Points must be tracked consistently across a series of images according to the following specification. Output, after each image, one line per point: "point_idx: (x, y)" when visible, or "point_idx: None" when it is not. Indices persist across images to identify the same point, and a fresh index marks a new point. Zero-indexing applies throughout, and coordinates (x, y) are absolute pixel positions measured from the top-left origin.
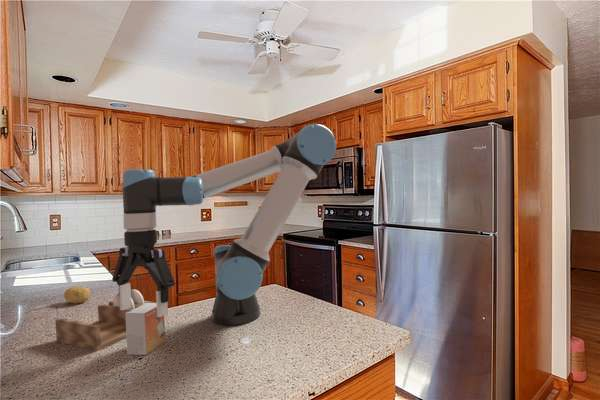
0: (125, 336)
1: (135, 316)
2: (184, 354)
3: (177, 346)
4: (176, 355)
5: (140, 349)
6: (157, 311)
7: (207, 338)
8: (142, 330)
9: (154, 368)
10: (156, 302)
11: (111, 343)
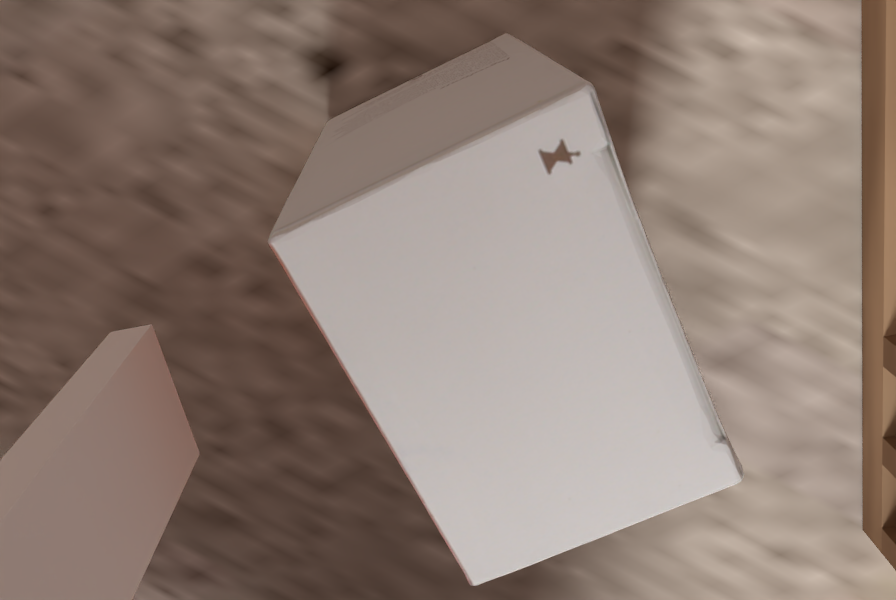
0: (872, 200)
1: (411, 154)
2: (76, 308)
3: (268, 355)
4: (113, 264)
5: (372, 101)
6: (112, 362)
7: (198, 549)
8: (329, 155)
9: (31, 37)
10: (62, 432)
11: (869, 51)
